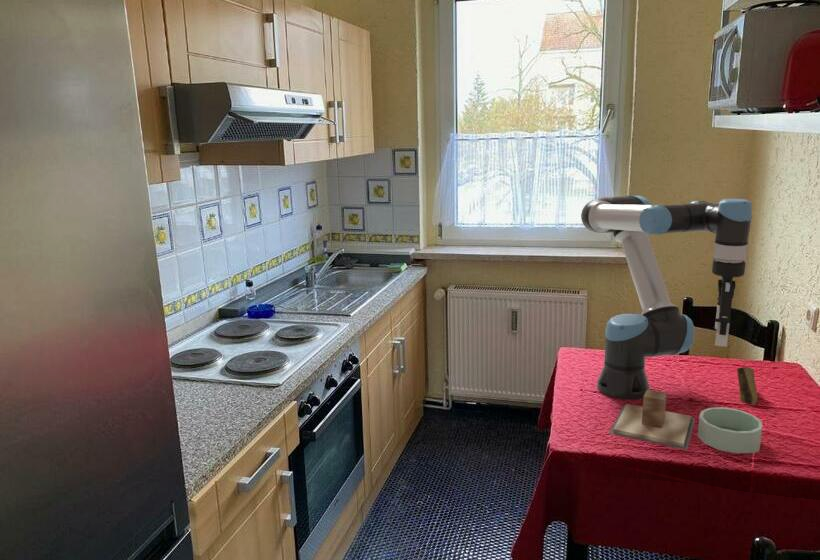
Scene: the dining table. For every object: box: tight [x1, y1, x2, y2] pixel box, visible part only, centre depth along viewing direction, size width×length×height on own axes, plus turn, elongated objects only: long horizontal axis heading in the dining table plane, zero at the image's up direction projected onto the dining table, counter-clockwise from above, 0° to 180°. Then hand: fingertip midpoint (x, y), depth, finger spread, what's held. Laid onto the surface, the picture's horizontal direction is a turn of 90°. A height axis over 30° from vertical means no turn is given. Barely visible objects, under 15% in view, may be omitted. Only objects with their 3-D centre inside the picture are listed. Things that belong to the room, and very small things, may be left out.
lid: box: [613, 389, 692, 447], centre depth 164 cm, size 17×17×9 cm
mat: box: [608, 404, 696, 451], centre depth 165 cm, size 19×19×1 cm
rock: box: [736, 366, 759, 406], centre depth 181 cm, size 11×9×10 cm
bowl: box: [697, 406, 763, 455], centre depth 156 cm, size 14×14×6 cm
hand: (720, 337), depth 164 cm, fingers open, 13 cm apart
